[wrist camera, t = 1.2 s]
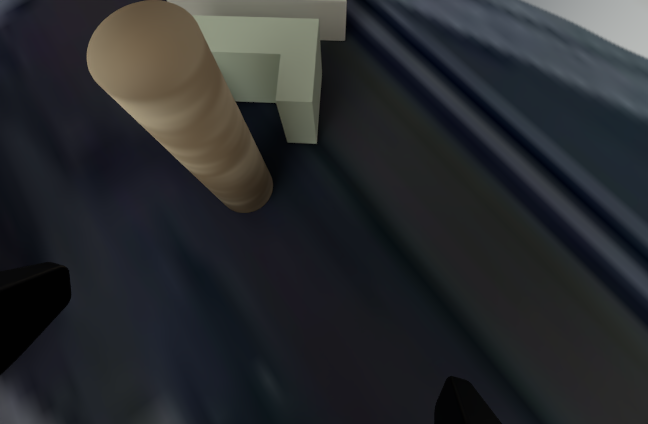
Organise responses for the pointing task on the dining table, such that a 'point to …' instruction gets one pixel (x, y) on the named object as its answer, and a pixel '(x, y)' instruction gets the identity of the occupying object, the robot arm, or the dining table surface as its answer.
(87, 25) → the dining table surface
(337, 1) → the kerb
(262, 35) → the block
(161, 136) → the dowel
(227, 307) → the dining table surface
